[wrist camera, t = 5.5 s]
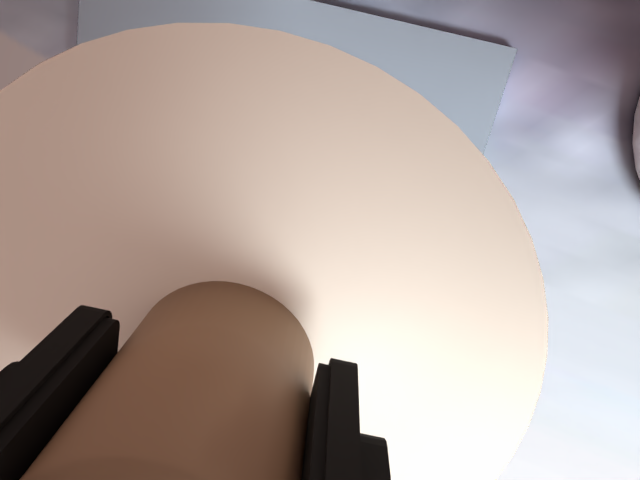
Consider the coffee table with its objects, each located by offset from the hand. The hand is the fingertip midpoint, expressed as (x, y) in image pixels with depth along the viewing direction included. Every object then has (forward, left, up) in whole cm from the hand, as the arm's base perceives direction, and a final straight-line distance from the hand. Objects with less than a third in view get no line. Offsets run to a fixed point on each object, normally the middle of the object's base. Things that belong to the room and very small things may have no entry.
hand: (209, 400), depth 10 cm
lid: (0, 0, -2) cm, 2 cm away
